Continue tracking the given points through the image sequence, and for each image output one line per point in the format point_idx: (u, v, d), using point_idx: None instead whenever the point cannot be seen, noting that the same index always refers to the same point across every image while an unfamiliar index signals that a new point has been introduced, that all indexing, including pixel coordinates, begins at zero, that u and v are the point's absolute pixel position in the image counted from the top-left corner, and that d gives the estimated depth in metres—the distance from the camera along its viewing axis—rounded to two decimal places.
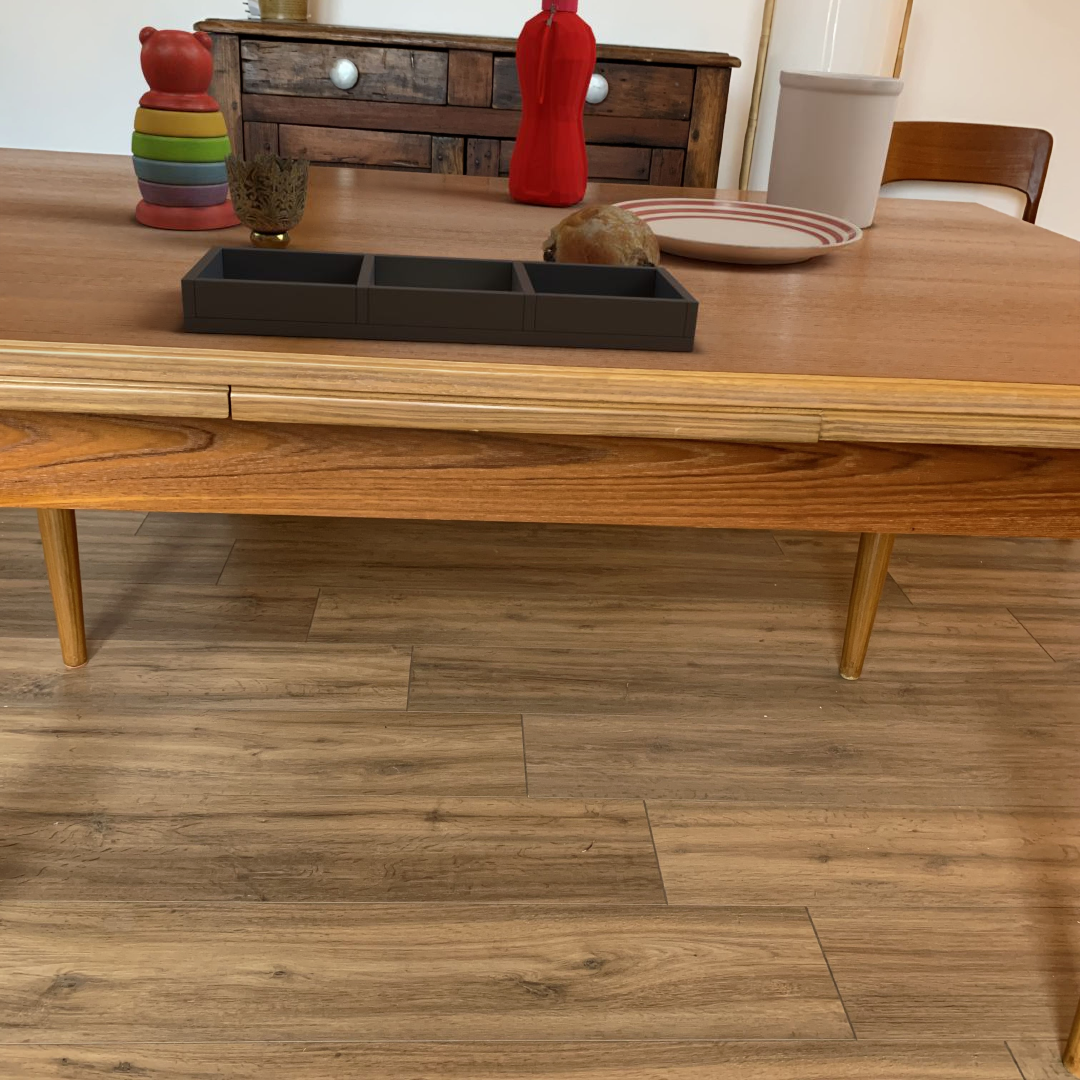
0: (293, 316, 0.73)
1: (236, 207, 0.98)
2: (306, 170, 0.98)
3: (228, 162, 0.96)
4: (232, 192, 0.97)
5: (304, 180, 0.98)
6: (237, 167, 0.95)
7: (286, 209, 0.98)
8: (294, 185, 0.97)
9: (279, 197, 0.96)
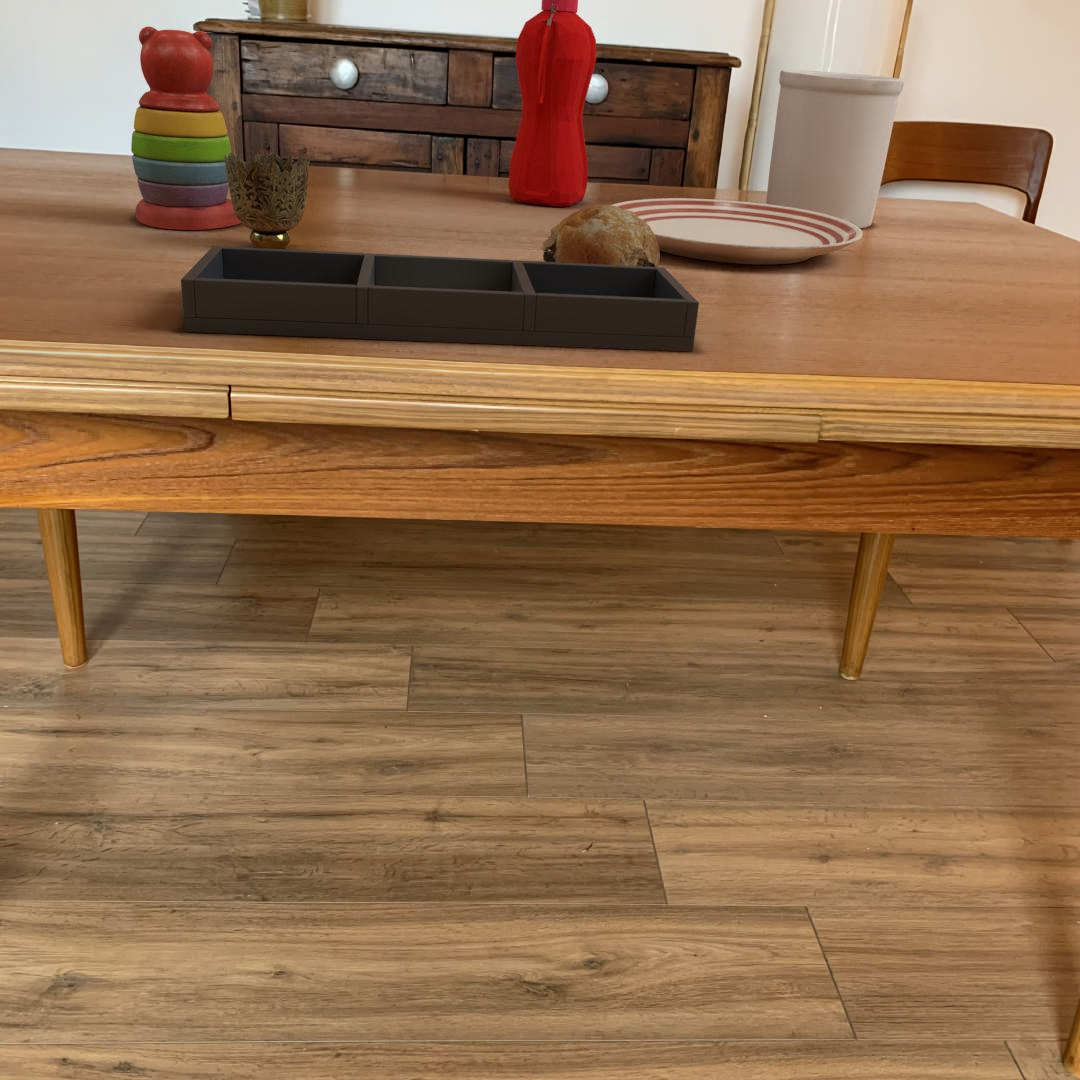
0: (293, 316, 0.73)
1: (236, 207, 0.98)
2: (306, 170, 0.98)
3: (228, 162, 0.96)
4: (232, 192, 0.97)
5: (304, 180, 0.98)
6: (237, 167, 0.95)
7: (286, 209, 0.98)
8: (294, 185, 0.97)
9: (279, 197, 0.96)
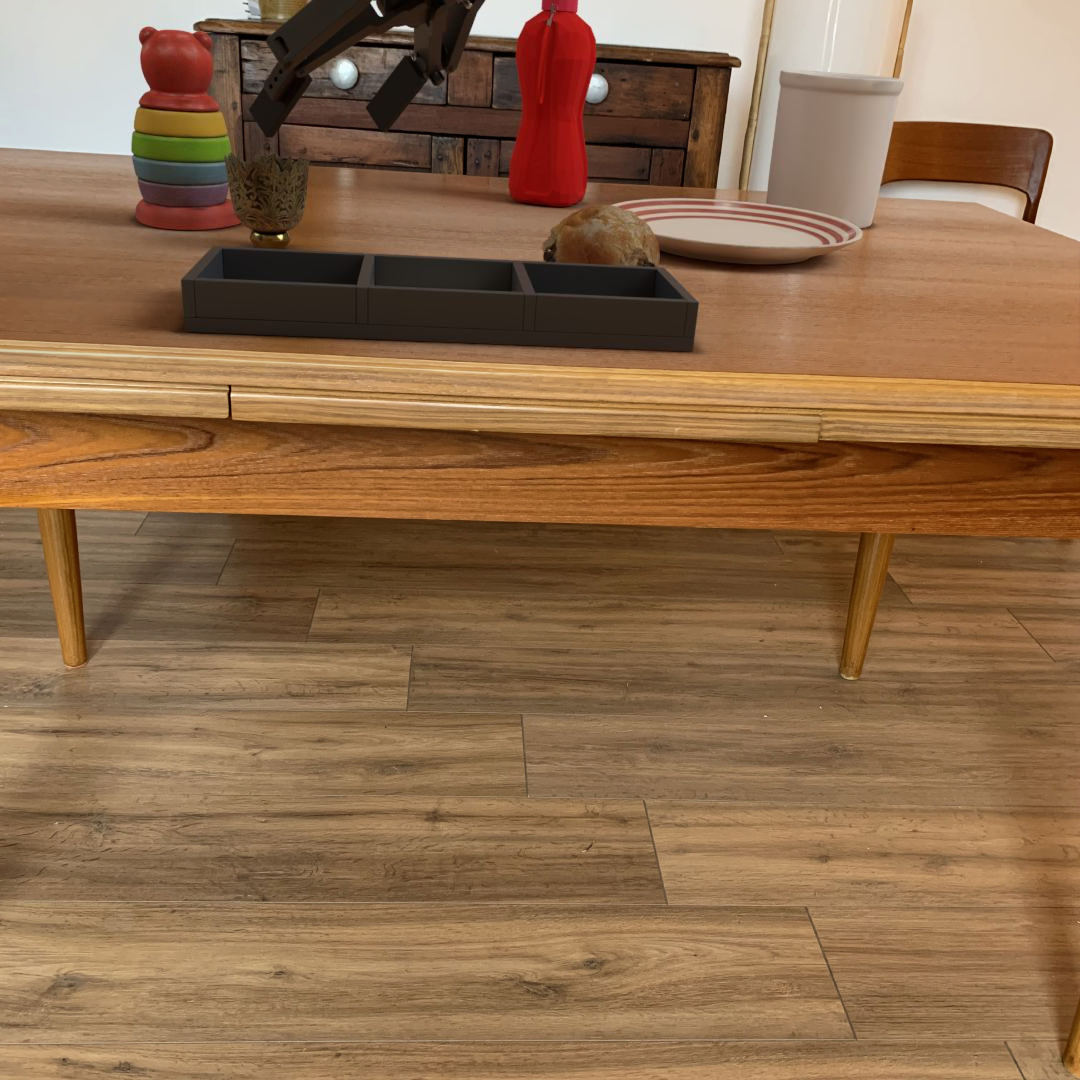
0: (293, 316, 0.73)
1: (236, 207, 0.98)
2: (306, 170, 0.98)
3: (228, 162, 0.96)
4: (232, 192, 0.97)
5: (304, 180, 0.98)
6: (237, 167, 0.95)
7: (286, 209, 0.98)
8: (294, 185, 0.97)
9: (279, 197, 0.96)
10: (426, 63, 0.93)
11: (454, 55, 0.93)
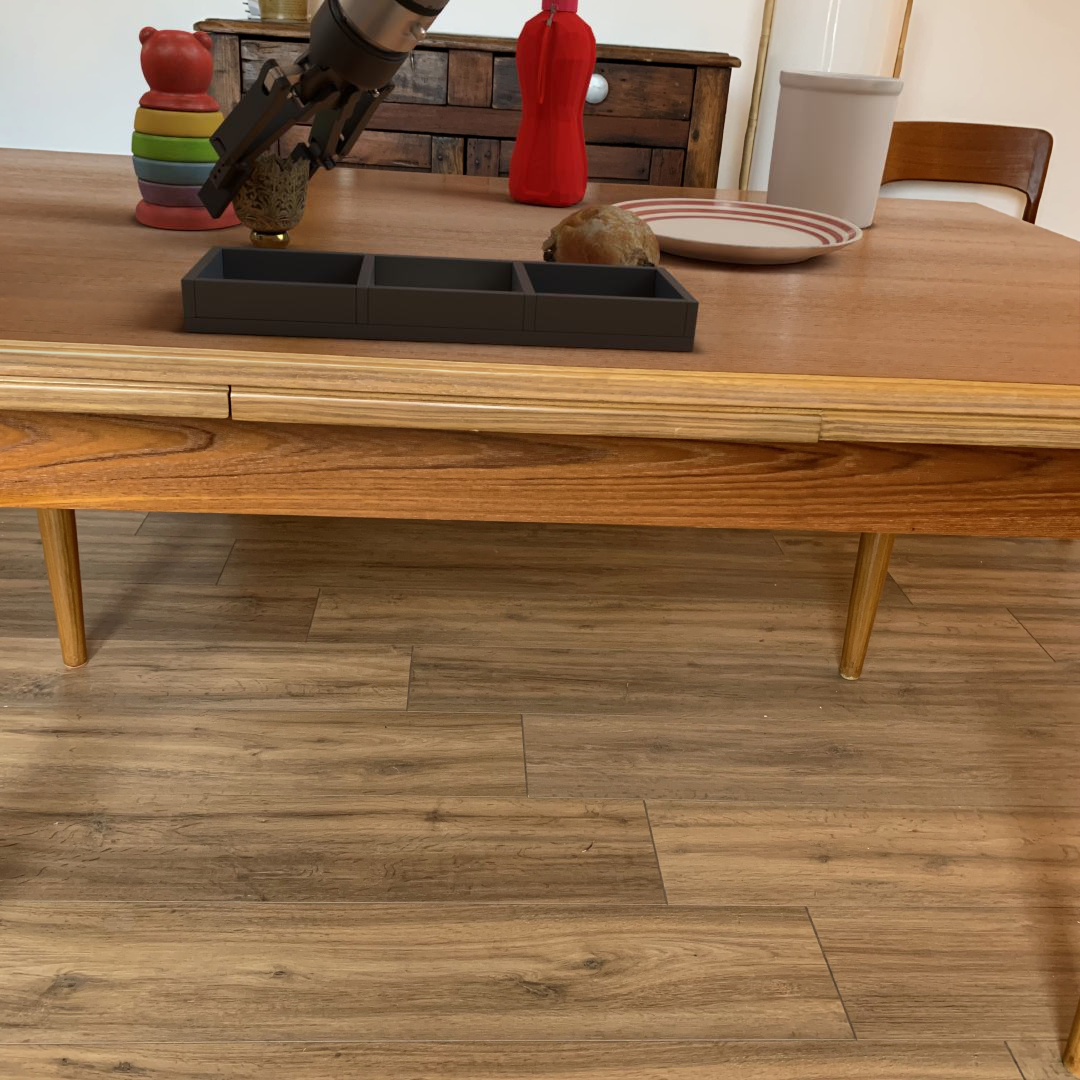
0: (293, 316, 0.73)
1: (236, 207, 0.98)
2: (306, 170, 0.98)
3: None
4: None
5: (304, 180, 0.98)
6: None
7: (286, 209, 0.98)
8: (294, 185, 0.97)
9: (279, 197, 0.96)
10: (323, 148, 0.99)
11: (350, 140, 1.00)
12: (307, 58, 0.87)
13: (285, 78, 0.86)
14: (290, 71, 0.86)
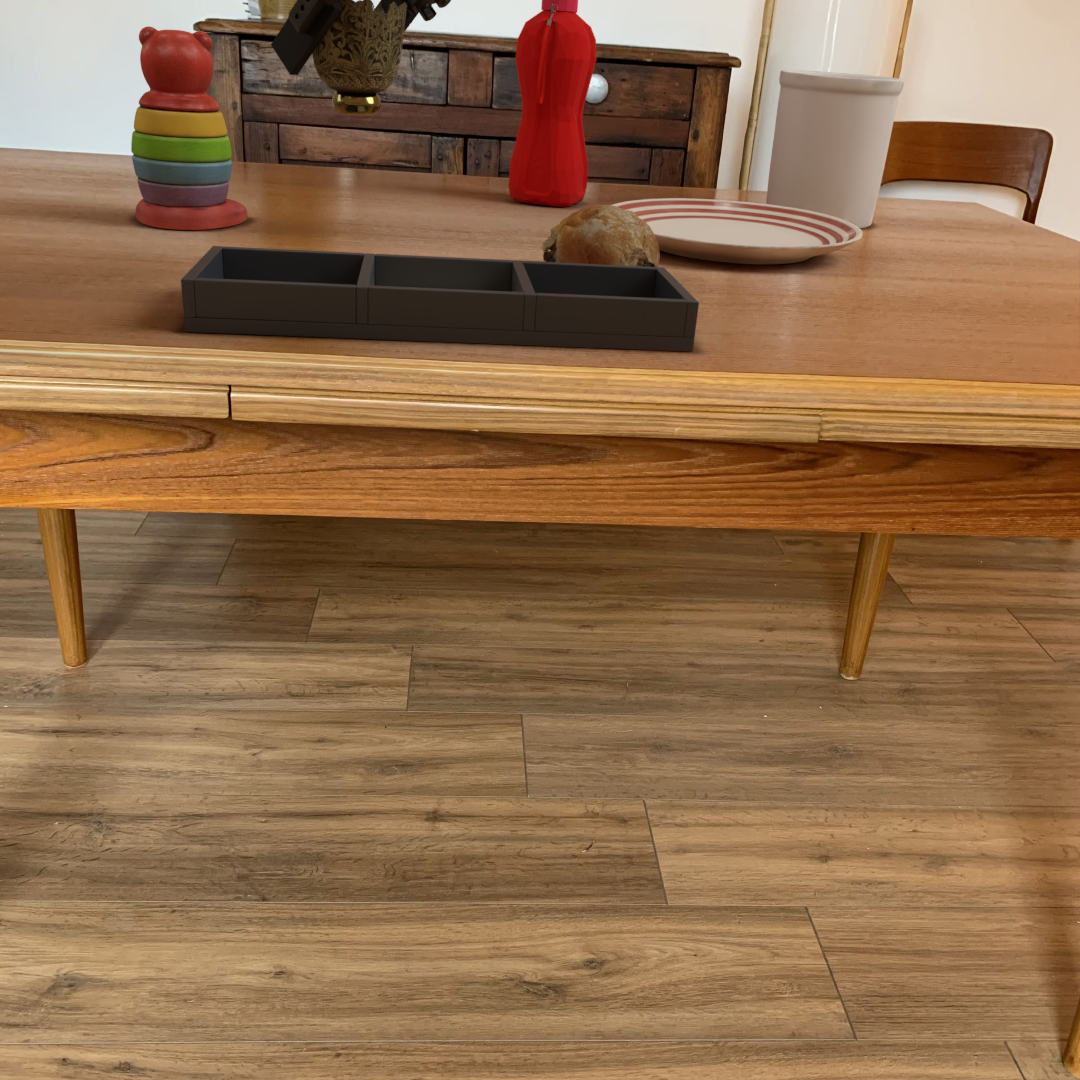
0: (293, 316, 0.73)
1: (319, 59, 0.80)
2: (404, 15, 0.80)
3: None
4: None
5: (401, 27, 0.81)
6: None
7: (380, 61, 0.80)
8: (390, 31, 0.79)
9: (373, 45, 0.79)
10: None
11: None
12: None
13: None
14: None
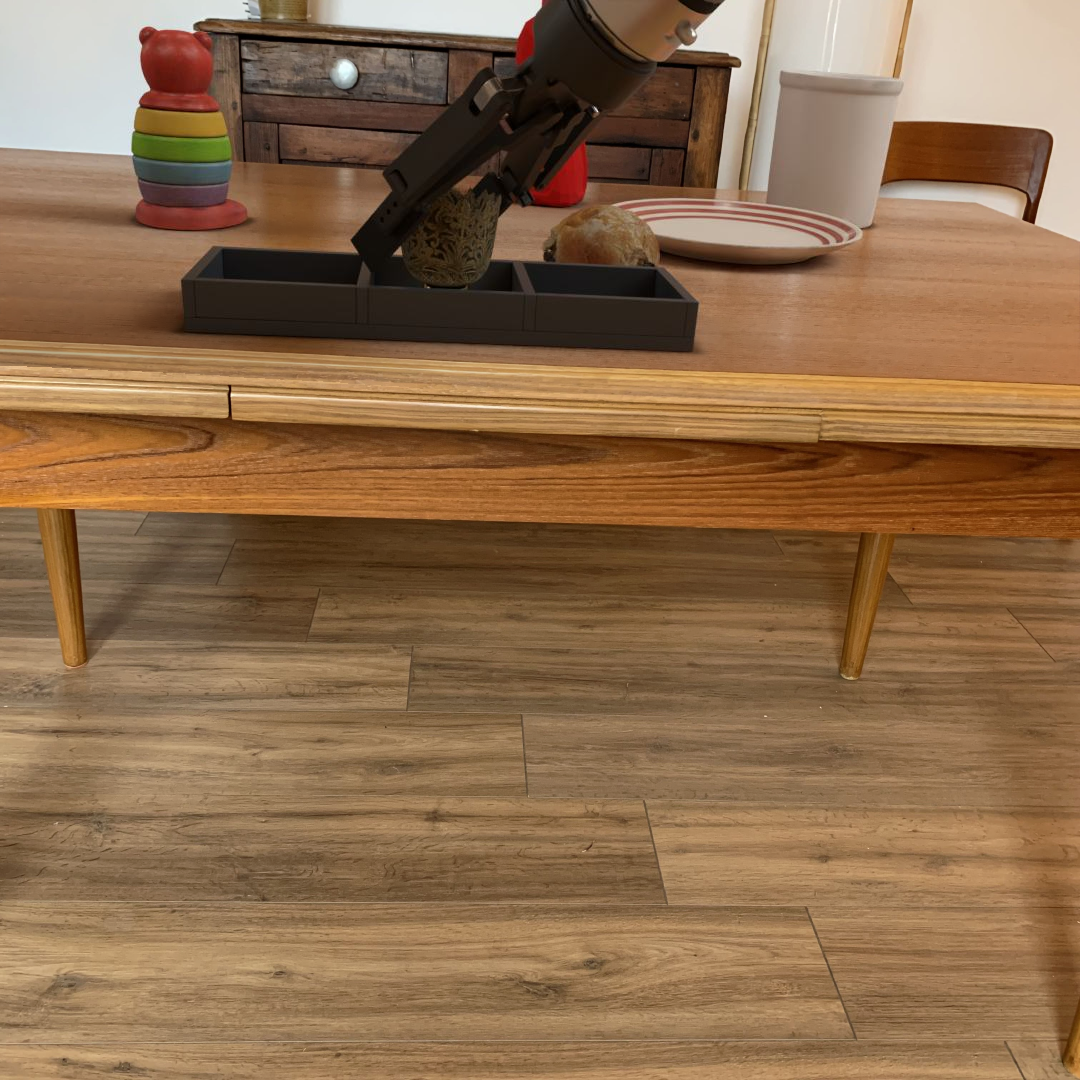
0: (293, 316, 0.73)
1: (409, 256, 0.76)
2: (499, 208, 0.76)
3: None
4: None
5: (496, 221, 0.76)
6: None
7: (473, 258, 0.76)
8: (485, 228, 0.75)
9: (467, 244, 0.75)
10: (521, 180, 0.78)
11: (553, 170, 0.79)
12: (529, 69, 0.65)
13: (506, 93, 0.64)
14: (510, 84, 0.65)
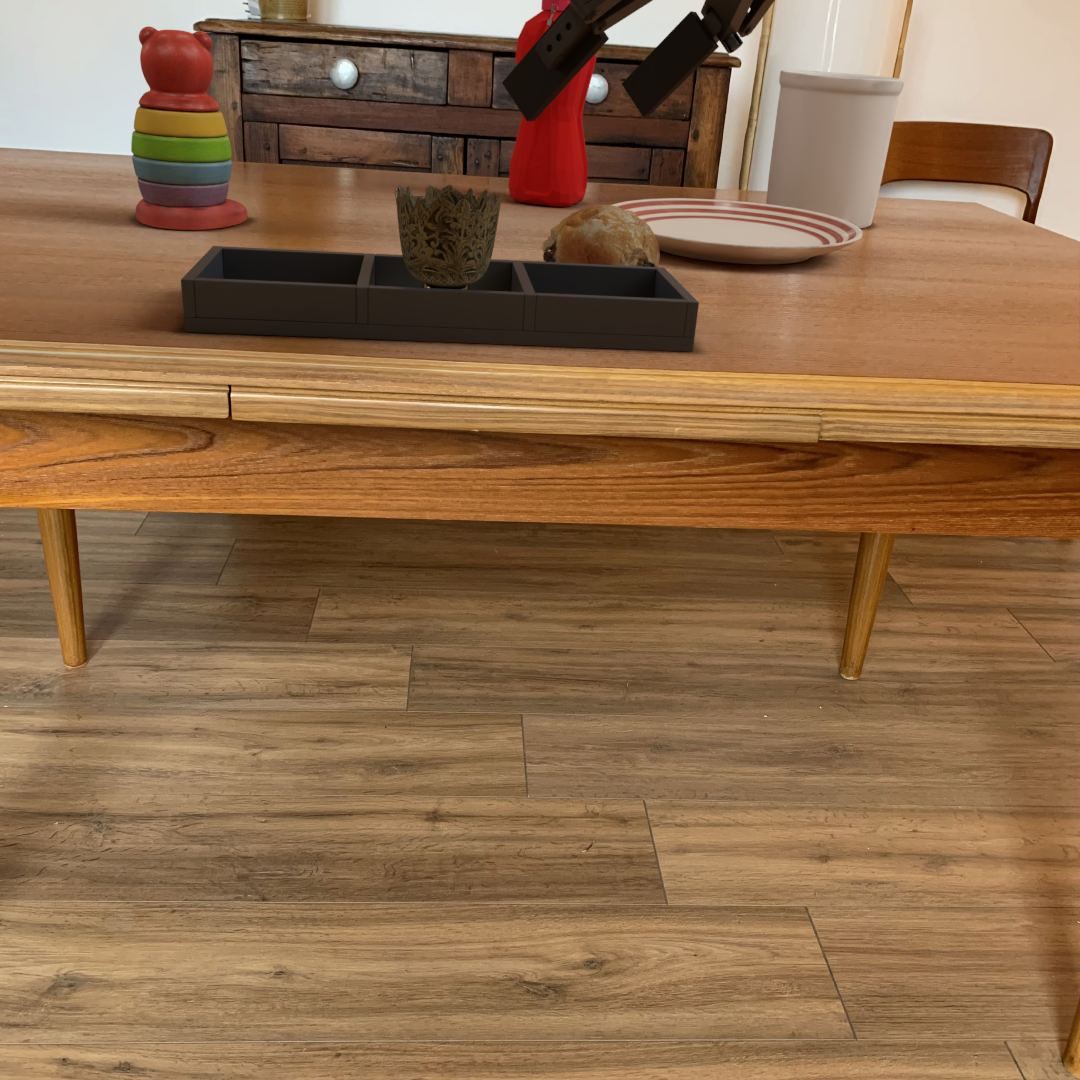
0: (293, 316, 0.73)
1: (409, 256, 0.76)
2: (499, 208, 0.76)
3: (403, 199, 0.74)
4: (405, 237, 0.76)
5: (496, 221, 0.76)
6: (416, 206, 0.74)
7: (474, 258, 0.76)
8: (485, 228, 0.75)
9: (468, 244, 0.75)
10: (726, 22, 0.68)
11: (760, 11, 0.69)
12: None
13: None
14: None
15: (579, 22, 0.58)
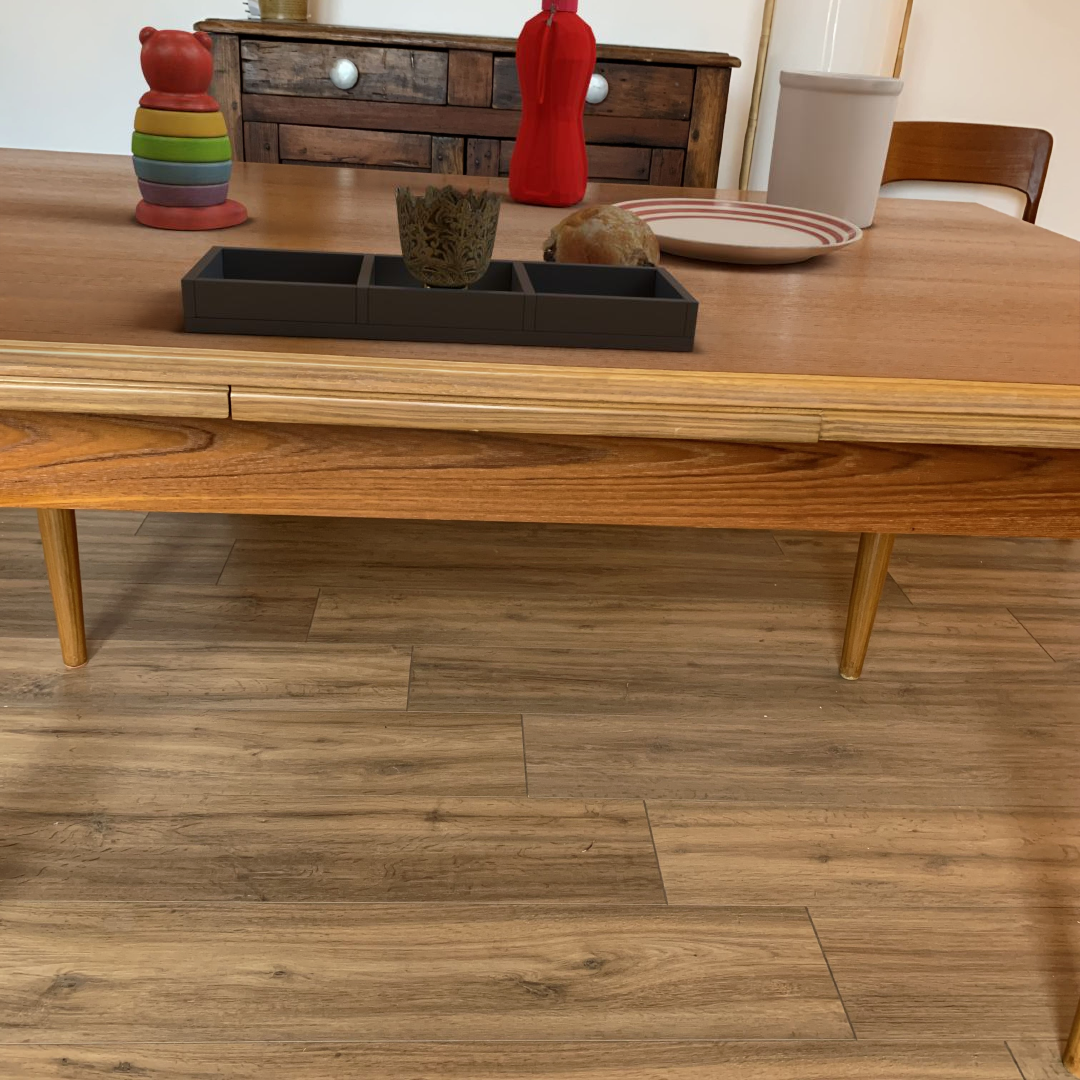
0: (293, 316, 0.73)
1: (409, 256, 0.76)
2: (499, 208, 0.76)
3: (403, 199, 0.74)
4: (405, 237, 0.76)
5: (496, 221, 0.76)
6: (416, 206, 0.74)
7: (474, 258, 0.76)
8: (485, 228, 0.75)
9: (468, 244, 0.75)
10: None
11: None
12: None
13: None
14: None
15: None
